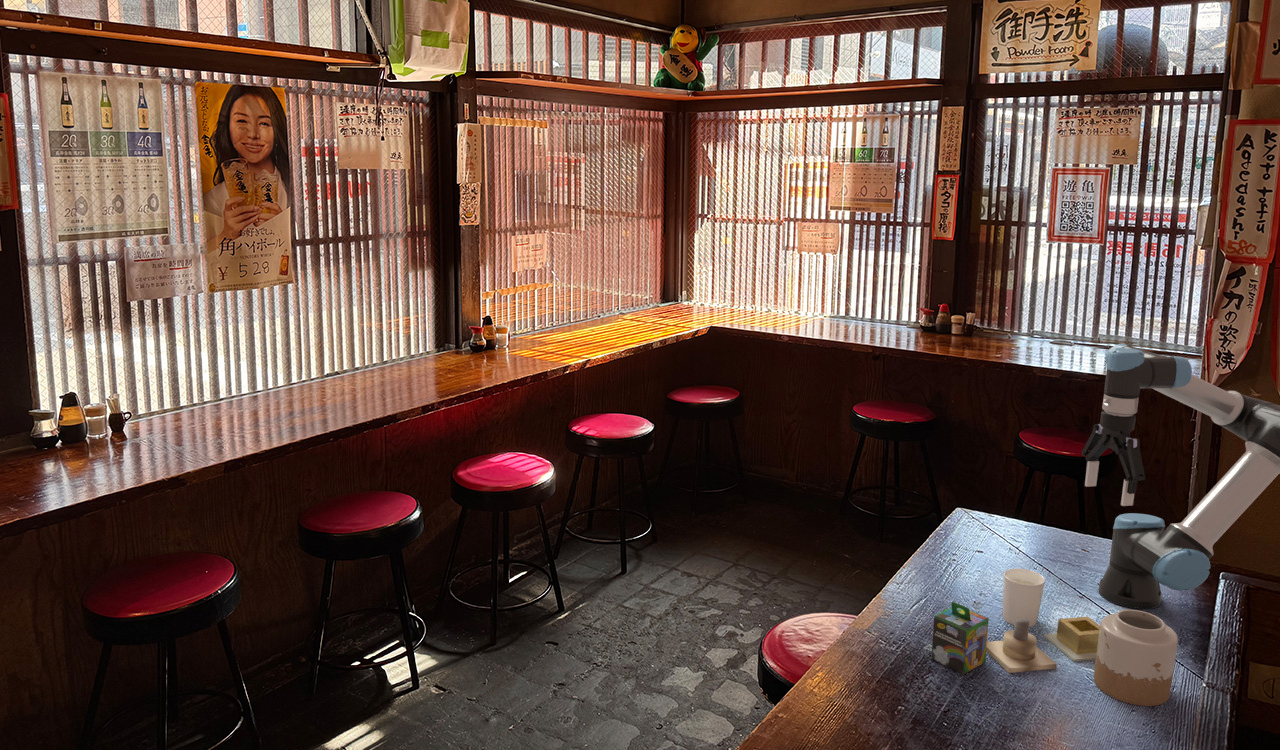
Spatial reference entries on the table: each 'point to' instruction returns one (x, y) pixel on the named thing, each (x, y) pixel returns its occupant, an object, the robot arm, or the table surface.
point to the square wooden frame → (1079, 634)
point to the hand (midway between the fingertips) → (1108, 495)
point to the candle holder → (1022, 595)
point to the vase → (1135, 658)
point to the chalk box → (960, 638)
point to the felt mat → (1067, 650)
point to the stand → (1019, 650)
